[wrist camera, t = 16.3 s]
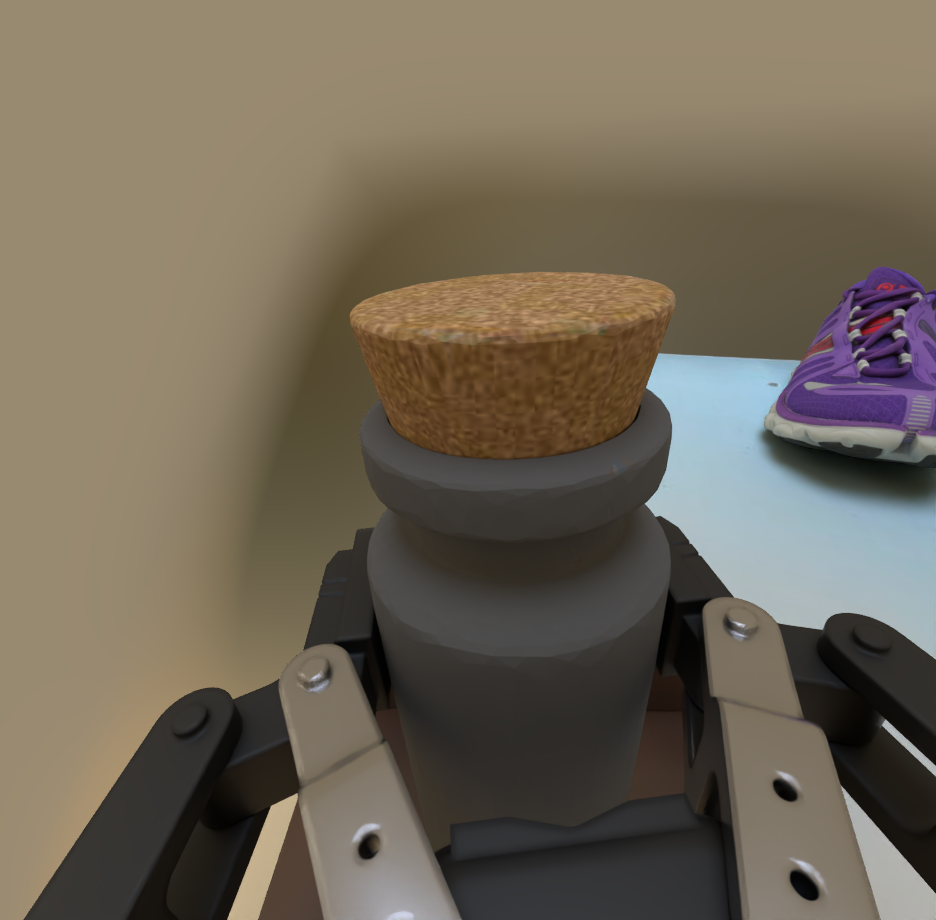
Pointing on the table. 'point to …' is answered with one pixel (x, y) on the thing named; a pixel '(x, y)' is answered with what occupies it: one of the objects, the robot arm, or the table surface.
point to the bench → (293, 882)
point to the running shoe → (868, 376)
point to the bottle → (518, 535)
